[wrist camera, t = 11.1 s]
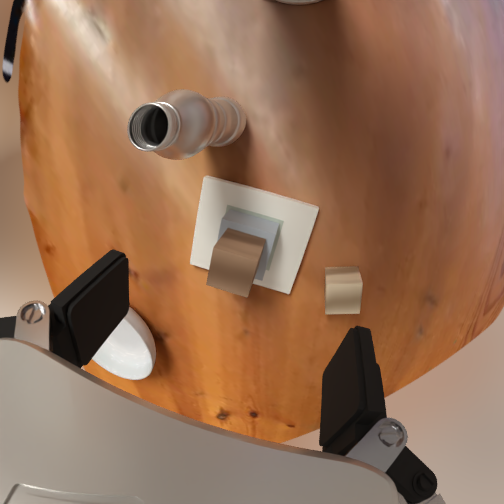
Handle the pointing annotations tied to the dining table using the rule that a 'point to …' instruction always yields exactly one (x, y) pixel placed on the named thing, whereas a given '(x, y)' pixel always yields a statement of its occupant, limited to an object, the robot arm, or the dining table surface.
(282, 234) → the board
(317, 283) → the dining table surface
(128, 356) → the serving bowl
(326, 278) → the birch block
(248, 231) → the base block
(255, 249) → the walnut block
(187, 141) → the plastic bottle
